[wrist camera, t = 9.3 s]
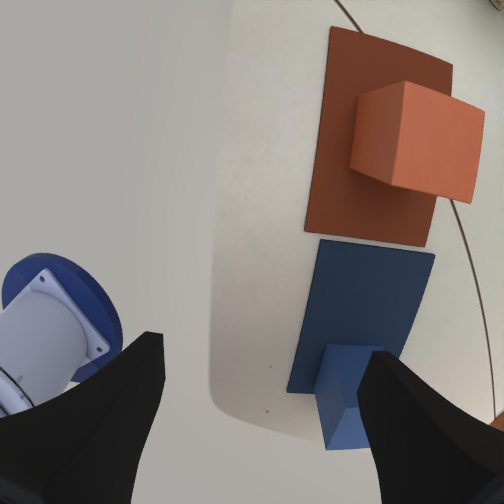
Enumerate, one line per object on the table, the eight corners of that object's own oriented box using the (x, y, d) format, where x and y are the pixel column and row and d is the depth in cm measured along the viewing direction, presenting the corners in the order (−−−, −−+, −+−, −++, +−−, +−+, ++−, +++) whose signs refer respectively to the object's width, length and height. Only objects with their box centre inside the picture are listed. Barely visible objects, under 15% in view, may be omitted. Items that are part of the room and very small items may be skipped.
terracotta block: (413, 181, 17) (471, 204, 11) (348, 168, 17) (390, 185, 11) (423, 113, 15) (485, 111, 10) (357, 95, 15) (404, 79, 10)
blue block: (364, 387, 22) (385, 446, 17) (313, 387, 22) (325, 450, 17) (382, 345, 21) (411, 404, 15) (327, 343, 21) (345, 407, 15)
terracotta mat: (422, 246, 19) (424, 247, 18) (304, 229, 18) (304, 231, 18) (450, 65, 14) (453, 64, 14) (330, 27, 14) (331, 25, 14)
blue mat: (381, 390, 23) (382, 393, 23) (286, 390, 23) (286, 392, 22) (433, 253, 19) (435, 255, 18) (320, 238, 19) (321, 240, 18)
